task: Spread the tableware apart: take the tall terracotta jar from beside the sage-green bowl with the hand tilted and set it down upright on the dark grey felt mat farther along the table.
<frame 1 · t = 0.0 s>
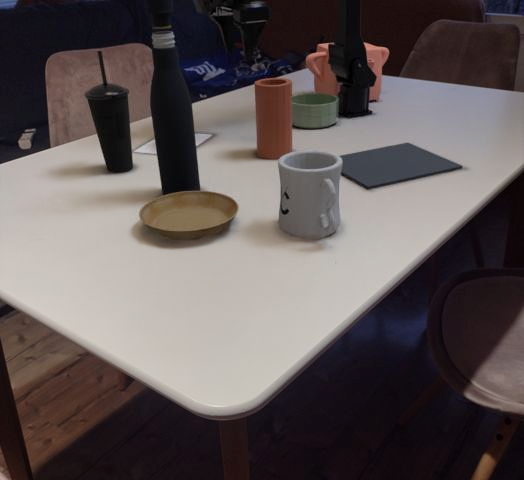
hand: (238, 57, 118), 15 cm above the table, tool pointing down, fingers open, 9 cm apart
terracotta jar: (274, 153, 114), on the table
sage bowl: (312, 122, 131), on the table
mug: (313, 232, 85), on the table
plant saucer: (191, 226, 88), on the table
felt mat: (389, 165, 107), on the table
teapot: (349, 100, 147), on the table
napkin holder: (174, 143, 122), on the table
wine bottle: (181, 194, 99), on the table
drinking cup: (120, 169, 110), on the table
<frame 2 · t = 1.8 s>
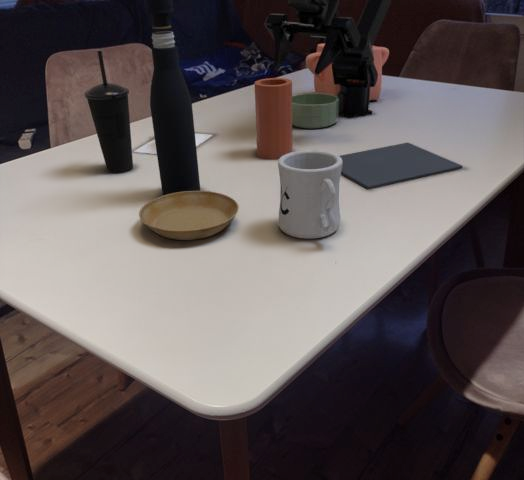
hand: (295, 71, 112), 13 cm above the table, tool tilted 45°, fingers open, 9 cm apart
nothing on the table moved.
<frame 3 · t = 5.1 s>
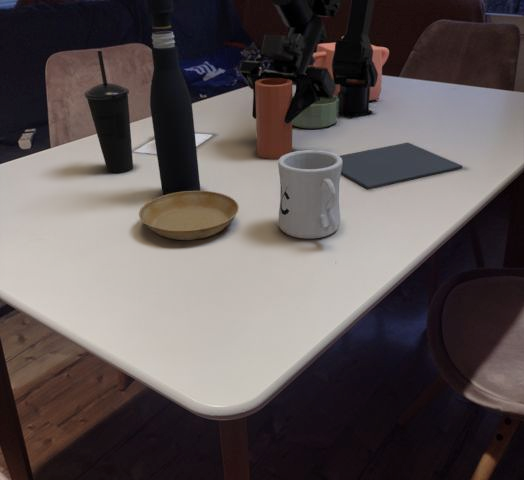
hand: (269, 119, 110), 7 cm above the table, tool tilted 45°, fingers closed on terracotta jar, 7 cm apart
terracotta jar: (274, 153, 114), on the table, touching gripper
everything else where it was.
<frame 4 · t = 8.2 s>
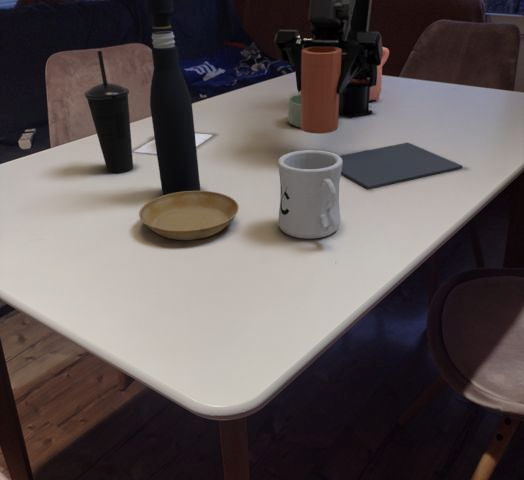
hand: (318, 91, 102), 12 cm above the table, tool tilted 45°, fingers closed on terracotta jar, 7 cm apart
terracotta jar: (319, 128, 107), point 6 cm above the table, touching gripper
everything else where it was.
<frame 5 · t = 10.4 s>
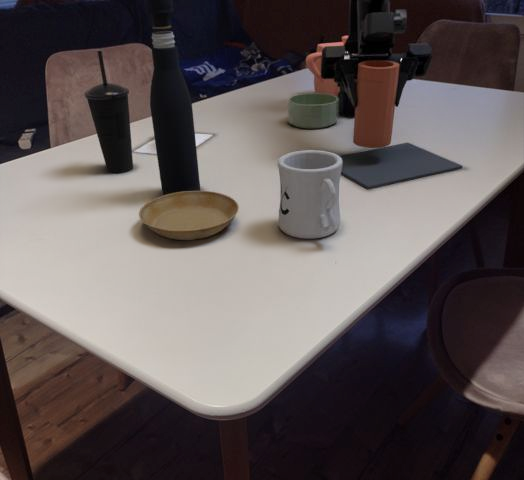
hand: (376, 106, 101), 10 cm above the table, tool tilted 45°, fingers closed on terracotta jar, 7 cm apart
terracotta jar: (371, 142, 106), point 4 cm above the table, touching gripper
everything else where it was.
when the fingers open (7 cm above the table, at t = 11.9 s): terracotta jar stays where it is, resting on felt mat.
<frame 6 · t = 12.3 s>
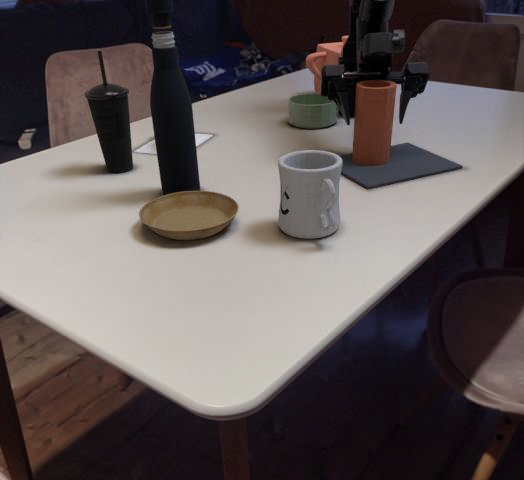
hand: (374, 123, 103), 7 cm above the table, tool tilted 45°, fingers open, 9 cm apart
terracotta jar: (370, 159, 108), resting on felt mat
everything else where it was.
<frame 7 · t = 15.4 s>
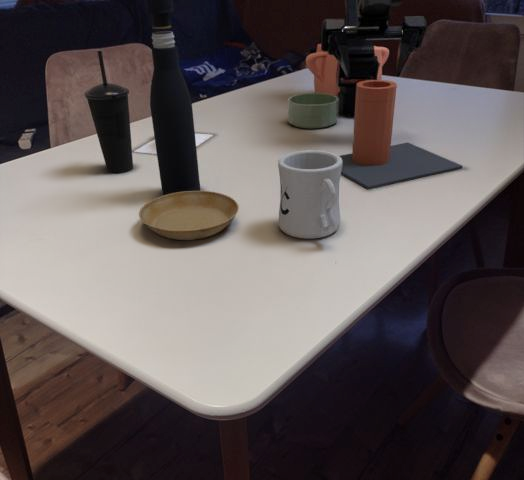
hand: (373, 75, 107), 13 cm above the table, tool tilted 45°, fingers open, 9 cm apart
nothing on the table moved.
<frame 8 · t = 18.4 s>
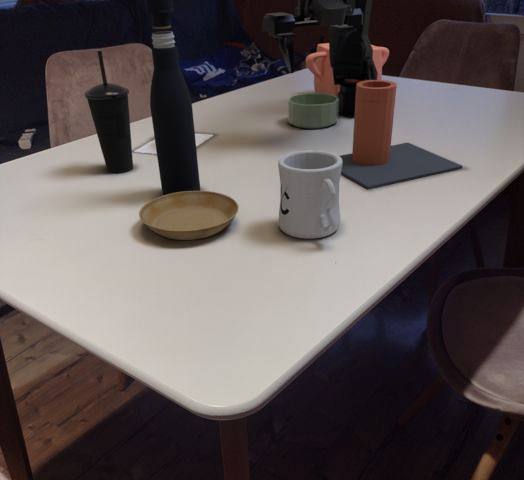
hand: (312, 70, 114), 13 cm above the table, tool pointing down, fingers open, 9 cm apart
nothing on the table moved.
at the end: terracotta jar inside the target area on the felt mat (0.1 cm from its centre), point 0.5 cm above the felt mat's base; terracotta jar tilted 0°; terracotta jar inside the target area on the table beside the sage bowl (0.9 cm from its centre), point 0.5 cm above the table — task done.
